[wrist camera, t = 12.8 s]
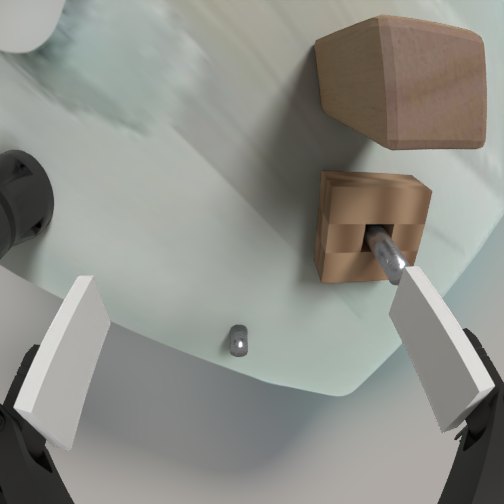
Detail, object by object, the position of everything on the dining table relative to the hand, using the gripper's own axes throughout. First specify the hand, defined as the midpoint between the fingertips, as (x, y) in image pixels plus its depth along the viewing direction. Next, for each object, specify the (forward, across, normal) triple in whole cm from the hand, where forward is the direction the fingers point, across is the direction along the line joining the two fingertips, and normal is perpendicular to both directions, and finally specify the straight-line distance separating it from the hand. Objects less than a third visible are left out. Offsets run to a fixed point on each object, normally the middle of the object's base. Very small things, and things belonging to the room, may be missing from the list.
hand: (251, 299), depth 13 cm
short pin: (+30, -1, -33) cm, 45 cm away
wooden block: (+30, +14, +9) cm, 34 cm away
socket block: (+29, +18, -11) cm, 36 cm away
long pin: (+29, +18, -11) cm, 36 cm away
